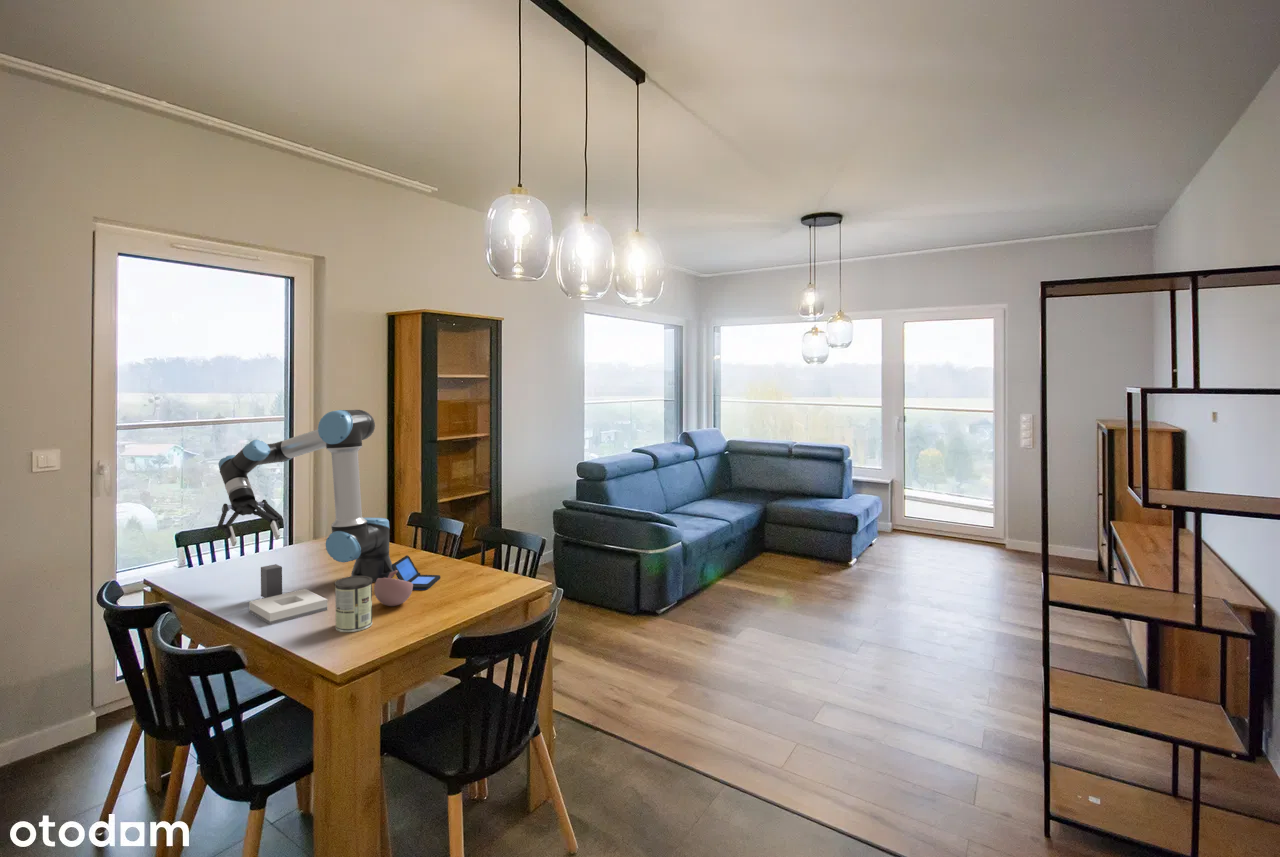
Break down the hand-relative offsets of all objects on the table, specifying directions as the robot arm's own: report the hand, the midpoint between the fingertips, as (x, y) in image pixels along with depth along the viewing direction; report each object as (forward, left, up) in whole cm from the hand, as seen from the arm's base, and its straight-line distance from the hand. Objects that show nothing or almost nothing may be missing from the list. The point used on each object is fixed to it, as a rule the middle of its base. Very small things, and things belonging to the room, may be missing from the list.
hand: (256, 540), depth 212 cm
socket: (-14, +24, -18) cm, 33 cm away
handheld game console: (-53, +6, -19) cm, 56 cm away
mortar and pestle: (-45, +28, -18) cm, 56 cm away
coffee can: (-34, +44, -19) cm, 59 cm away
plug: (-6, +9, -18) cm, 21 cm away
